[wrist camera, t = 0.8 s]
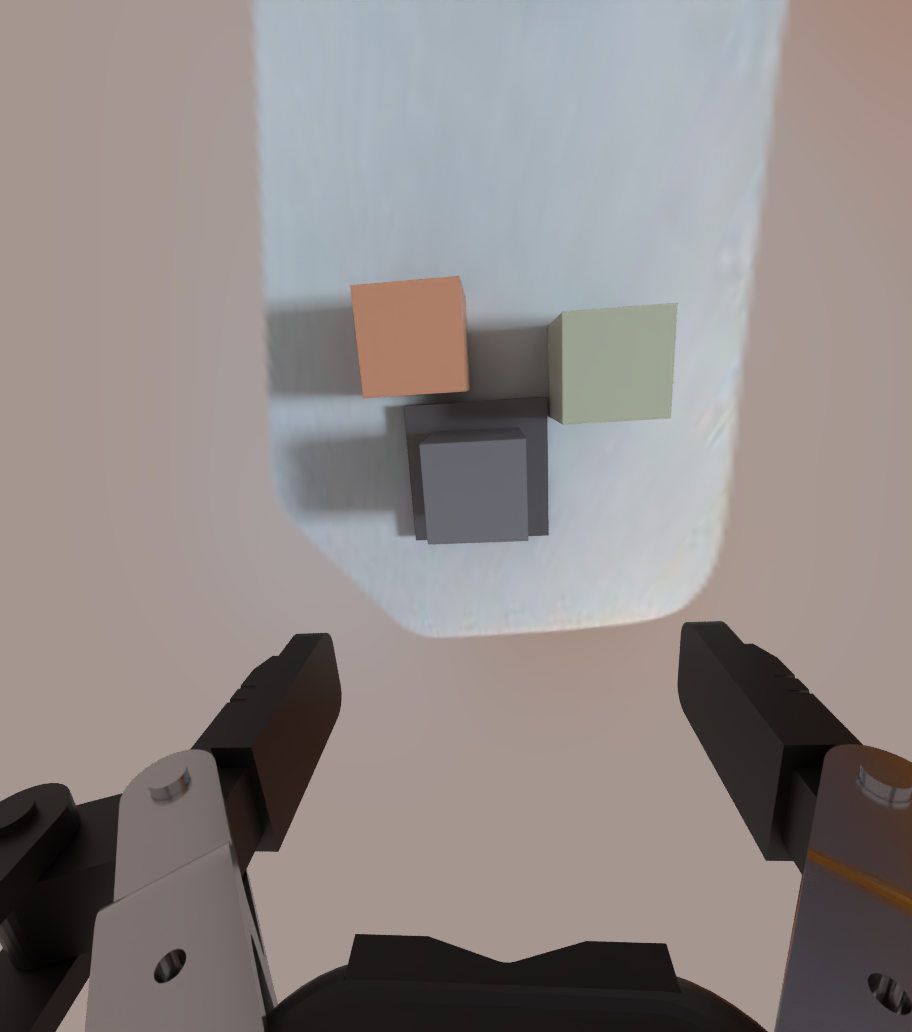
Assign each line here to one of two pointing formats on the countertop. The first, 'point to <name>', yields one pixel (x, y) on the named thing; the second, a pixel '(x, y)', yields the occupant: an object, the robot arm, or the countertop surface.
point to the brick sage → (612, 364)
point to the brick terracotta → (412, 337)
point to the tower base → (486, 419)
